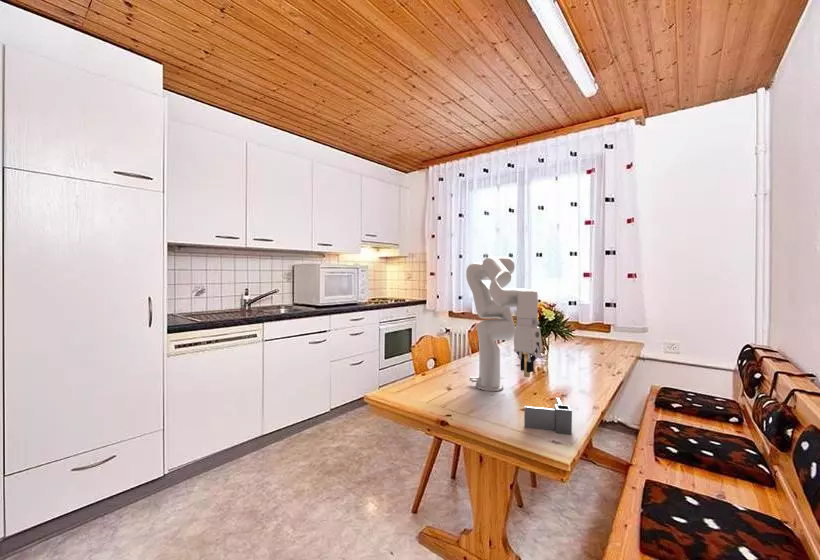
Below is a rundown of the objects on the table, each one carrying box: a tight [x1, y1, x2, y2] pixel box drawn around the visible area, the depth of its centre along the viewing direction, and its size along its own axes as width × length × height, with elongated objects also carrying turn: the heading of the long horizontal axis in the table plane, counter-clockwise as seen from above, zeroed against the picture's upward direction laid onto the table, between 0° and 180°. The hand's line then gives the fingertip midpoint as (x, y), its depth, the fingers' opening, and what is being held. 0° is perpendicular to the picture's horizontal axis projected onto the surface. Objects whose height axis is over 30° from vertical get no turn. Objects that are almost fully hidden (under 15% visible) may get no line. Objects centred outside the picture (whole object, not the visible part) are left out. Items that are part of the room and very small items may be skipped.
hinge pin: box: [522, 352, 531, 378], centre depth 133 cm, size 3×3×10 cm
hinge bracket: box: [523, 397, 573, 435], centre depth 126 cm, size 15×15×8 cm
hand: (527, 370), depth 133 cm, fingers closed on hinge pin, 2 cm apart
